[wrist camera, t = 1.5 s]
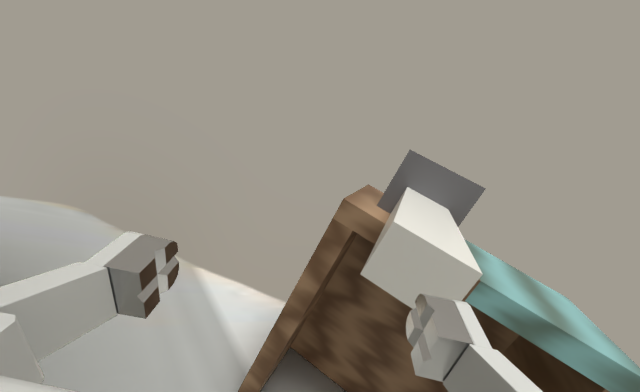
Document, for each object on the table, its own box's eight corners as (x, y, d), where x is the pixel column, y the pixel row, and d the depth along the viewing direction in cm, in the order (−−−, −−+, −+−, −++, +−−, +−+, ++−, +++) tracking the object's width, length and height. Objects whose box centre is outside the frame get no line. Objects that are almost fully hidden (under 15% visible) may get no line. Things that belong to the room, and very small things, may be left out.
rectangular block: (333, 256, 13) (398, 142, 11) (384, 196, 31) (411, 150, 30) (473, 349, 11) (576, 233, 10) (440, 228, 30) (472, 182, 28)
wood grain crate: (236, 394, 30) (343, 198, 23) (285, 330, 41) (368, 184, 34) (434, 570, 25) (662, 389, 17) (429, 442, 36) (566, 297, 28)
